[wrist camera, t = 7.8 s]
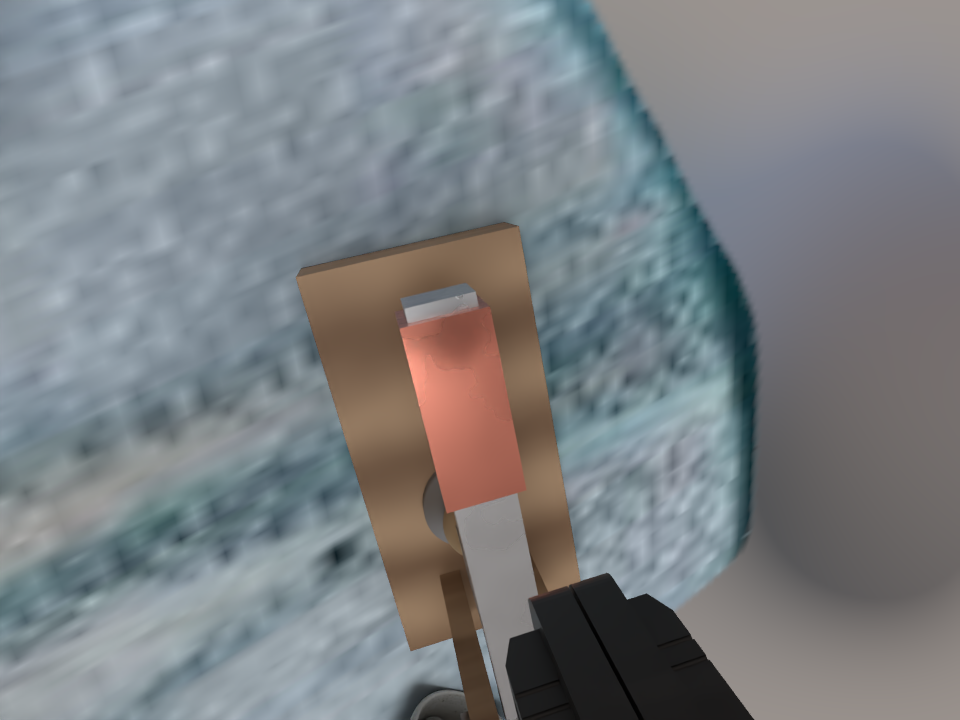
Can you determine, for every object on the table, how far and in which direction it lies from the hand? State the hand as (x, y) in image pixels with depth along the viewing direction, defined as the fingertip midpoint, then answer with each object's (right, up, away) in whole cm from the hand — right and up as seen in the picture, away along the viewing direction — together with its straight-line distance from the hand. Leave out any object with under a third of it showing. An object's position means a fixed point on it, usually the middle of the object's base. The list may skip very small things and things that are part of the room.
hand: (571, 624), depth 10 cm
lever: (-2, -2, +17) cm, 17 cm away
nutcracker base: (-3, 0, +24) cm, 24 cm away
